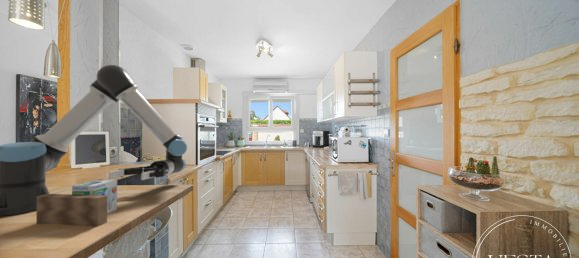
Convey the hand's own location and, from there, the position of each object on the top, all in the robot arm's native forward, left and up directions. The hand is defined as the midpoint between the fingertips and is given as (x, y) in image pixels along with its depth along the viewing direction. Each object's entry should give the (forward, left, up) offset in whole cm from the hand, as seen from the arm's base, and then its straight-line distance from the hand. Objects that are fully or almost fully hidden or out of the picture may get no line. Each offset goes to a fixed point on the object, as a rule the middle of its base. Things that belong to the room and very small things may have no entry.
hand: (125, 175), depth 90 cm
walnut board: (+10, -17, -10) cm, 23 cm away
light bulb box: (+7, -11, -11) cm, 17 cm away
